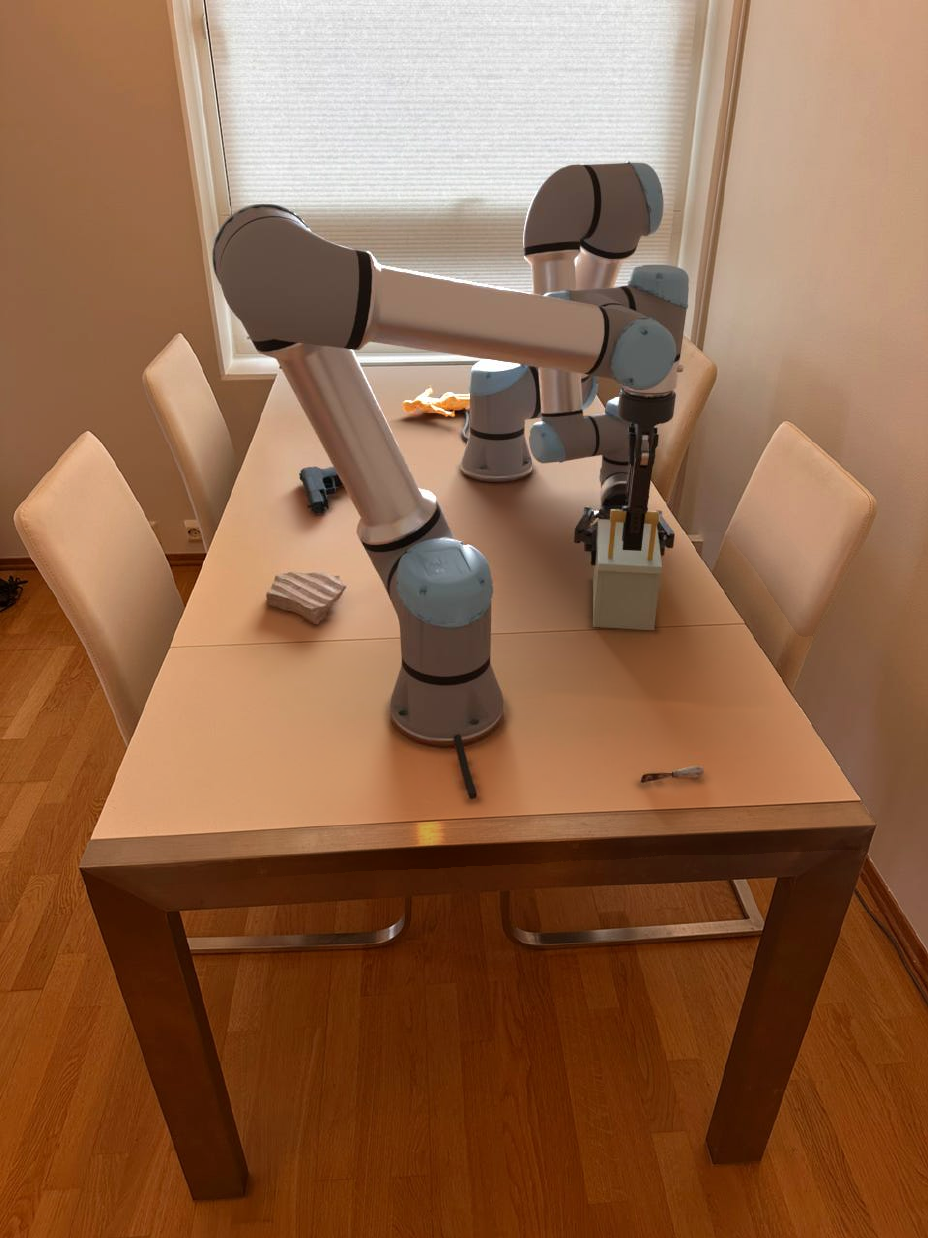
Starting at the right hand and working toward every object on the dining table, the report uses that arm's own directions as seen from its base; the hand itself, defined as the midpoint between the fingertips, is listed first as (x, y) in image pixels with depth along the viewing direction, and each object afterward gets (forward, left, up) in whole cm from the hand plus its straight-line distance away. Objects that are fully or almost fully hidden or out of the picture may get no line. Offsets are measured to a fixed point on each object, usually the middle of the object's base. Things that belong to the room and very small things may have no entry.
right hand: (625, 559), depth 144 cm
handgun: (-55, -38, -7) cm, 67 cm away
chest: (+3, -1, -7) cm, 7 cm away
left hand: (+8, -4, +7) cm, 12 cm away
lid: (+3, -1, +4) cm, 5 cm away
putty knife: (+43, -14, -7) cm, 45 cm away
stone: (-14, -50, -7) cm, 52 cm away
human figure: (-97, +1, -7) cm, 97 cm away
